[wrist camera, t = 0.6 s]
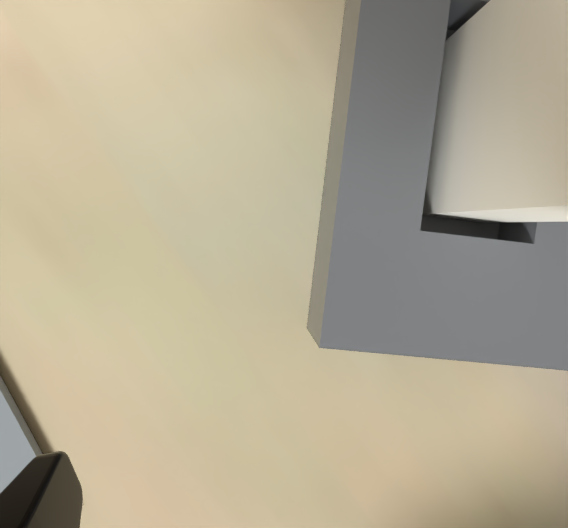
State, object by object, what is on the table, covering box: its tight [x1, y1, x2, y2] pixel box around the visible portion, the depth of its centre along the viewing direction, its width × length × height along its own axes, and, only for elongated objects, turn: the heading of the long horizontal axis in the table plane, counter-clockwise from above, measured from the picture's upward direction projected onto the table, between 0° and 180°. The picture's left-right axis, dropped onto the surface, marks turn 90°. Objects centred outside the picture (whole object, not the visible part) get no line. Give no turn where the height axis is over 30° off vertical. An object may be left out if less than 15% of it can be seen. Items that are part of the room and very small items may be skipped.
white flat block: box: [422, 0, 568, 222], centre depth 15 cm, size 7×3×11 cm, turn 174°
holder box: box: [307, 0, 568, 371], centre depth 20 cm, size 18×11×4 cm, turn 174°
